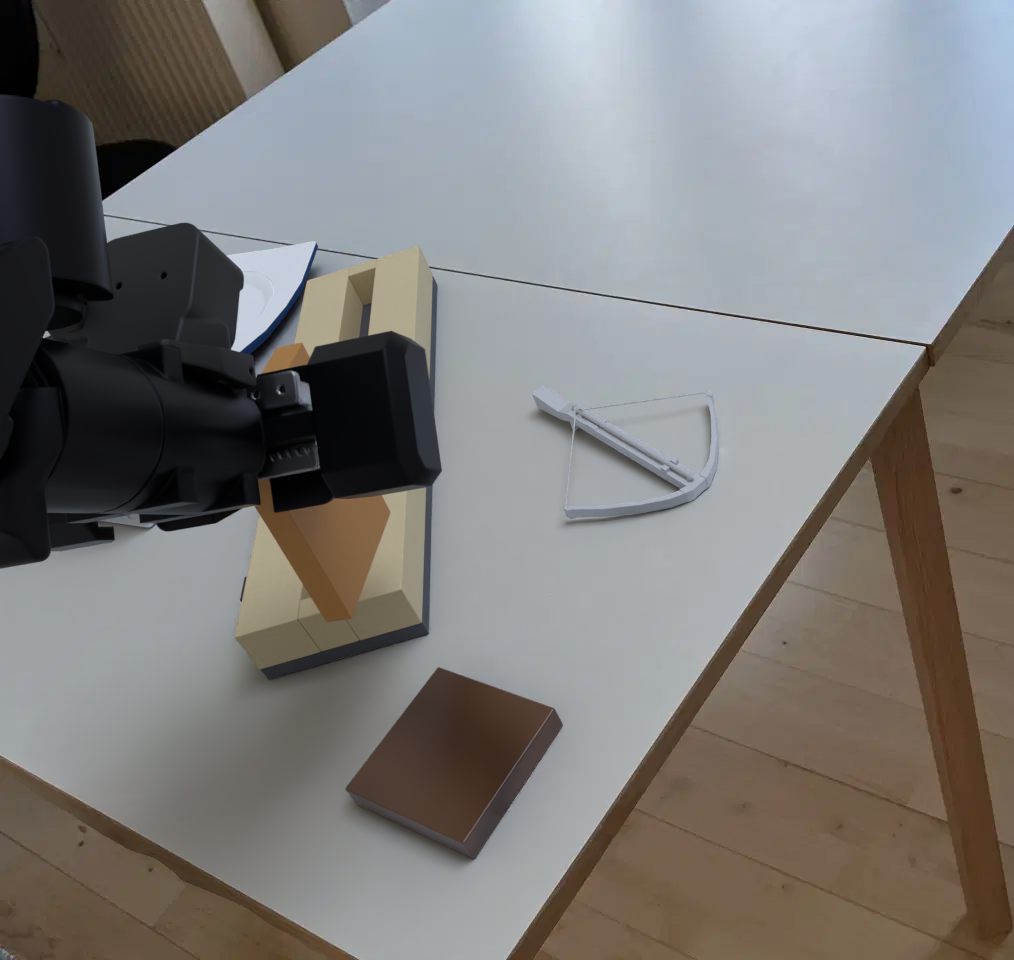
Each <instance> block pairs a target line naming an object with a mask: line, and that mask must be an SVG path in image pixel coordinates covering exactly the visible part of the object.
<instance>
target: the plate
mask: <svg viewBox="0 0 1014 960" xmlns="http://www.w3.org/2000/svg"><path fill="white" fill-rule="evenodd" d="M318 248H319V245H318V243H317V242H316V241H315V240H312V241H307V242H301V243H296V244H290V245H285V246H279V247H274V248H268V249H262V250H254V251H247V252H240V253H232V254H225V255H226V256H227V257H228V258H229V259H231V260H232V261H233V262H234V263H235V264H236V265H237V266H238V267H239V268H240V269H241V270H242V272H243V275H244V286H243V289H242V290H241V291H240V296H239V306H238V317H237V328H236V337H235V341H234V344H233V346H232V348H231V350H234V351H238V352H241V353H245V354H249V355H252V353H254V351H256V350H257V349H258V348H259V347H260V346H261V345H262V344H263V343H264V342H266V341H267V340H268V338H269V337H271V334H273V332H274V331H275V329H276V328H277V327H278V326H279V324H280V323H281V322H282V321H283V320H284V318H285V317H286V316H287V314H288V313H289V311H290V310H291V308H292V307H293V305H294V304H295V302H296V301H297V299H298V298H299V296H300V295H301V293H302V292H303V291H304V287H305V286H306V283H307V280H308V276H309V274H310V271H311V269H312V265H313V263H314V260H315V258H316V255H317V251H318Z"/></svg>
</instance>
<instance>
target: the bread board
mask: <svg viewBox="0 0 1014 960" xmlns="http://www.w3.org/2000/svg"><path fill="white" fill-rule="evenodd" d="M563 725H564V724H563V721H562V720H561V718H560V716H559V714H558V712H557V711H556V709H555V707H552V706H549V705H547V704H543V703H541V702H538V701H535V700H533V699H529V698H526V697H524V696H521V695H518V694H515V693H512V692H509V691H507V690H504V689H502V688H498V687H496V686H492V685H490V684H488V683H485V682H481V681H479V680H476V679H473V678H470V677H467V676H465V675H462V674H459V673H456V672H453V671H451V670H448V669H446V668H443V667H439V666H438V667H437V668H436V669H435V670H434V672H433V673H432V674H431V676H430V677H429V678H428V679H427V681H426V682H425V684H424V685H423V686H422V688H421V689H420V690H419V691H418V693H416V695H415V696H414V698H413V699H412V700H411V701H410V703H409V704H408V706H407V707H406V708H405V709H404V711H403V712H402V713H401V715H400V716H399V717H398V719H397V720H396V721H395V723H394V724H393V725H392V726H391V728H390V729H389V731H388V732H386V734H385V736H384V737H383V738H382V740H381V741H380V742H379V743H378V745H377V746H376V747H375V749H374V750H373V751H372V753H371V754H370V755H369V756H368V758H367V759H366V761H365V762H364V763H363V764H362V766H361V767H360V768H359V770H358V771H357V772H356V773H355V775H354V776H353V778H352V779H351V780H350V782H349V783H348V784H347V785H346V786H345V788H344V789H345V791H346V792H347V794H348V795H349V796H350V797H351V799H352V801H354V802H355V804H357V805H358V806H360V807H362V808H365V809H366V810H368V811H370V812H373V813H375V814H377V815H379V816H381V817H383V818H386V819H388V820H390V821H392V822H394V823H396V824H398V825H401V826H402V827H404V828H407V829H409V830H411V831H414V832H415V833H418V834H419V835H422V836H424V837H426V838H428V839H431V840H432V841H434V842H437V843H439V844H440V845H443V846H445V847H447V848H449V849H452V850H454V851H455V852H458V853H460V854H461V855H465V856H466V857H469V858H471V859H476V857H477V856H478V855H479V853H480V852H481V850H482V848H483V847H484V845H485V844H486V842H487V841H488V839H489V838H490V837H491V835H492V834H493V832H494V830H496V827H497V826H498V824H499V823H500V821H501V820H502V818H503V816H504V815H505V814H506V812H507V811H508V809H509V808H510V806H511V805H512V803H513V801H514V800H515V799H516V797H517V795H518V794H519V792H520V791H521V789H522V788H523V786H524V785H525V783H527V780H528V779H529V778H530V776H531V774H532V773H533V771H534V770H535V768H536V767H537V765H538V764H539V762H540V761H541V760H542V758H543V756H544V755H545V754H546V751H547V750H548V749H549V747H550V746H551V744H552V743H553V741H554V740H555V738H556V736H557V735H558V734H559V732H560V730H561V729H562V727H563Z"/></svg>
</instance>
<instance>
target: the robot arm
mask: <svg viewBox="0 0 1014 960" xmlns="http://www.w3.org/2000/svg"><path fill="white" fill-rule="evenodd" d="M99 172H100V171H99V164H98V156H97V148H96V139H95V131H94V124H93V121H91V119H90V118H89V117H88V115H86V114H85V113H84V112H83V111H82V110H80V109H78V108H77V107H76V106H74V105H72V104H69V103H68V102H65V101H63V100H60V99H47V100H41V99H37V98H32V97H31V98H30V97H26V96H20V95H15V94H1V93H0V570H2V569H7V568H12V567H19V566H24V565H29V564H36V563H41V562H44V561H47V560H48V559H49V557H50V556H51V553H52V552H65V551H71V550H75V549H83V548H87V547H93V546H100V545H106V544H111V543H113V542H114V541H116V536H115V527H114V526H113V525H111V526H110V525H109V526H103V525H102V526H99V522H101V521H100V520H105V519H111V518H116V517H122V516H127V517H128V518H129V519H140V523H155V525H156V527H157V528H158V529H159V530H161V531H163V532H167V533H168V532H174V531H180V530H186V529H192V528H196V527H204V526H209V525H215V524H218V523H220V522H221V521H223V520H225V519H227V518H228V517H231V516H232V515H234V514H235V513H237V512H239V511H241V510H243V509H245V508H250V507H255V506H257V505H261V500H260V492H259V484H258V481H261V480H267V479H270V485H271V493H272V501H273V509H274V513H278V512H284V511H290V510H295V509H301V508H307V507H313V506H318V505H324V504H327V503H329V502H331V501H332V500H333V499H335V498H336V499H354V498H364V497H374V496H380V495H385V494H391V493H397V492H403V491H408V490H414V489H420V488H426V487H431V486H432V487H433V485H434V483H435V482H436V480H437V479H438V477H439V476H440V475H441V473H442V472H443V468H442V459H441V454H440V446H439V439H438V438H439V437H438V432H437V426H436V418H435V408H434V409H433V402H432V395H431V388H430V381H429V374H428V366H427V359H426V352H425V349H424V348H423V347H422V346H420V345H419V344H418V343H416V342H415V341H414V340H412V339H411V338H408V337H406V336H403V335H401V334H398V333H396V332H393V331H388V332H383V333H378V334H373V335H368V336H364V337H359V338H354V339H349V340H344V341H340V342H335V343H330V344H325V345H320V346H316V347H315V348H314V350H313V352H312V355H311V357H310V359H309V361H308V363H307V365H301V366H296V367H292V368H287V369H282V370H277V371H272V372H267V373H262V372H261V373H262V374H261V373H258V374H256V366H255V360H254V355H252V354H250V355H249V354H245V353H241V352H238V351H234V350H231V348H232V346H233V344H234V341H235V337H236V328H237V317H238V306H239V296H240V291H241V290H242V289H243V286H244V275H243V272H242V270H241V269H240V268H239V267H238V266H237V265H236V264H235V263H234V262H233V261H232V260H231V259H229V258H228V257H227V256H226V255H227V254H225V253H224V252H223V251H222V250H221V249H220V248H219V247H218V246H217V245H216V244H215V243H214V242H212V240H210V239H209V238H208V236H206V235H205V234H204V233H203V232H202V231H201V230H200V229H199V228H198V227H197V226H196V225H194V224H192V223H190V222H178V223H174V224H169V225H166V226H165V225H164V226H162V227H157V228H153V229H149V230H145V231H141V232H140V231H139V232H136V233H132V234H128V235H125V236H120V237H117V238H114V239H112V240H109V241H108V239H107V238H108V237H107V230H106V221H105V214H104V212H105V211H104V205H103V198H102V188H101V181H100V173H99ZM46 332H47V333H48V334H49V336H50V335H51V337H52V338H53V339H54V340H50V339H46V338H45V337H44V336H45V334H46Z"/></svg>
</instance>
